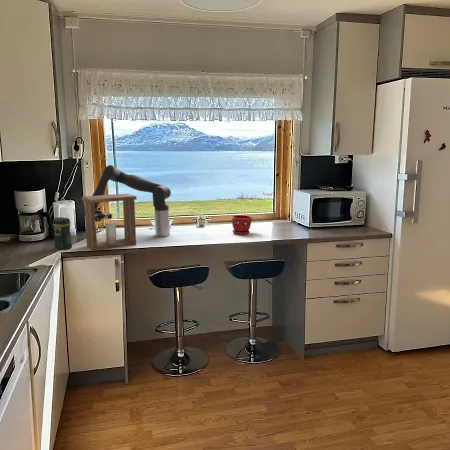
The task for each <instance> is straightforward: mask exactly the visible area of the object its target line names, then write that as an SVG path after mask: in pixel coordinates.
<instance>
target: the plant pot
mask: <svg viewBox="0 0 450 450" xmlns="http://www.w3.org/2000/svg"><path fill="white" fill-rule="evenodd" d="M231 218H232V219H231V223H232V224H231V225H232V228H233V230H232V233H233V234H234V235H238V236H239V235H240V236H245V235H249V234H250V229H251V225H252V216H249V215H245V214H244V215H243V214H239V215H238V214H236V215H232V217H231Z"/></svg>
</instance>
